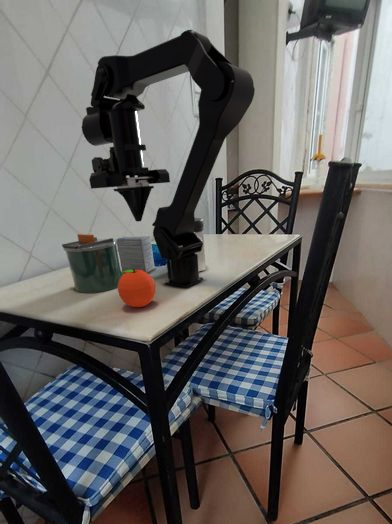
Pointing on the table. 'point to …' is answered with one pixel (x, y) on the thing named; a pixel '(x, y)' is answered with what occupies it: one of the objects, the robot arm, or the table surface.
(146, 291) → the clementine
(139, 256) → the medicine box
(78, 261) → the canister
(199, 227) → the jar
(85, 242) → the slider
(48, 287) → the table surface
